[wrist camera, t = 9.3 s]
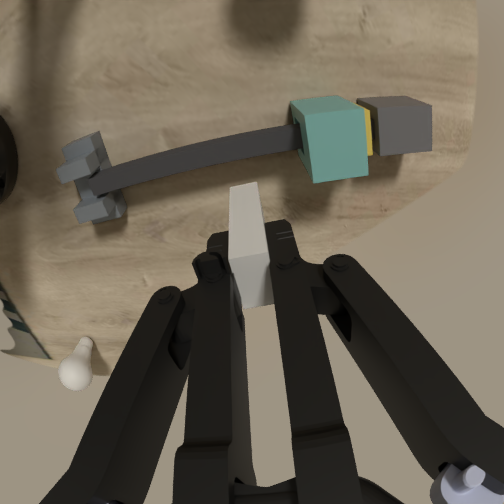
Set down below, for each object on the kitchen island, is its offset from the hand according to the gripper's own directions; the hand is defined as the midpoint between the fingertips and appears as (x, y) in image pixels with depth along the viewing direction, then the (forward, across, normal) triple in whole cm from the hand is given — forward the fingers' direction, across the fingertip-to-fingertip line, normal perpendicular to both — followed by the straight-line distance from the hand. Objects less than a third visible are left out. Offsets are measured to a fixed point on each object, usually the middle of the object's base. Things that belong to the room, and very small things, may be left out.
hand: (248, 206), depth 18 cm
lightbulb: (+18, -34, -28) cm, 47 cm away
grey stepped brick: (+17, -17, 0) cm, 25 cm away
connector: (+17, +16, 0) cm, 23 cm away
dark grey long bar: (+16, +1, 0) cm, 16 cm away
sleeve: (+17, +8, 0) cm, 19 cm away
